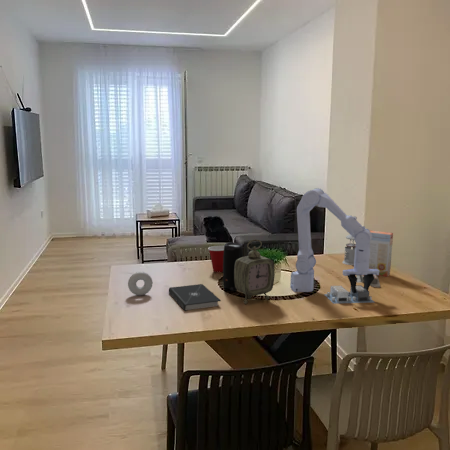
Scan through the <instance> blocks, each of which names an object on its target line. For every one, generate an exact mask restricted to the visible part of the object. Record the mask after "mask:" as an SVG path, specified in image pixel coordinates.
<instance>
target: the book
mask: <svg viewBox="0 0 450 450" xmlns="http://www.w3.org/2000/svg"><path fill="white" fill-rule="evenodd" d="M168 293H169V295H170V296H171V298H173V299H174V301H175V302H176V303H177V304H178V305H179V306H180V307H181V309H182V310H183V311H184V312H186V311H190V310H196V309H197V310H198V309H204V308H205V309H206V308H211V307H218V306H219V302H222V300H221V299H220V298H219V297H218V296H217V295H216V294H214V293H213V292H212V291H211V290H210V289H209V288H207V287H206V286H205V285H204V284H203V283H200V284H191V285H183V286H173V287H172V286H171V287H169V289H168Z"/></svg>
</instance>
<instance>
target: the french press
mask: <svg viewBox="0 0 450 450" xmlns="http://www.w3.org/2000/svg"><path fill="white" fill-rule="evenodd" d="M353 217H356V218H357V219H358V217H357V216H355V215H353ZM345 238H346V239H347V240H349V243H346V244H345V245H346V246H345V247H344V258H343V260H342V261H341V262H342V264H343V265H347V266H354V259H355V248H356V243H354V242H355V240H354V237H352V236H351V235H350V234H347V235H346V236H345ZM351 242H352V243H351Z"/></svg>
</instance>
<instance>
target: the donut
mask: <svg viewBox="0 0 450 450" xmlns="http://www.w3.org/2000/svg"><path fill="white" fill-rule="evenodd" d="M140 280H141V281H143V286H141V287H140V286H138V285H137V283H138V281H140ZM127 286H128V289H129V291H130V293H132V294H133V295H135V296H145V295H146V294H148V293H149V292H150V291H151V289H152V288H153V278H152V277H151V275H150V274H149V273H147V272H145V271H136V272H135V273H134V272H133V273H132V274H131V275H130V276H129V278H128V281H127Z"/></svg>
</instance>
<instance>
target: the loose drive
mask: <svg viewBox="0 0 450 450" xmlns="http://www.w3.org/2000/svg"><path fill="white" fill-rule="evenodd" d="M349 292H350V295H351V296H352V297H356V300H357V301H358V302H359V301H369V296H370V290H369V289H368V290H367V289H365V288H364V285H360V284H359V285H357V284H356V291H355V293H353V292H352V289H351V288H350V291H349Z"/></svg>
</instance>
